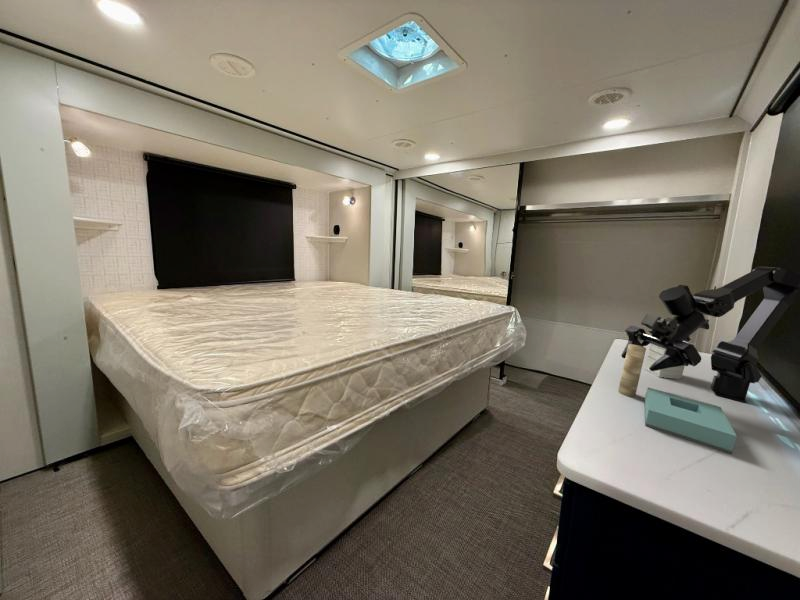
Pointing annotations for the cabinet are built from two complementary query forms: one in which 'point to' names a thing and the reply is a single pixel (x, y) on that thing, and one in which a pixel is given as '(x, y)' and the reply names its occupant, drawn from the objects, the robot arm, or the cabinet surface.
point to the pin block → (689, 419)
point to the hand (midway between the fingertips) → (635, 363)
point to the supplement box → (671, 372)
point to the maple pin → (631, 370)
